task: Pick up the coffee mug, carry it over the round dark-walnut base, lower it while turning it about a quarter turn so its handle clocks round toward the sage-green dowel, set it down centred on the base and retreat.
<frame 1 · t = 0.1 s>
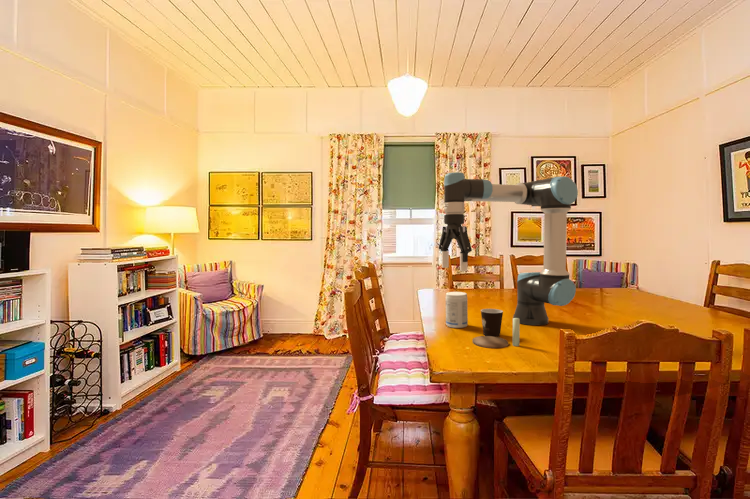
hand: (454, 269, 148), 28 cm above the table, fingers open, 13 cm apart
coffee mug: (491, 334, 159), on the table
walnut base: (490, 342, 147), on the table
supplement tub: (456, 326, 173), on the table
dowel: (515, 345, 143), on the table
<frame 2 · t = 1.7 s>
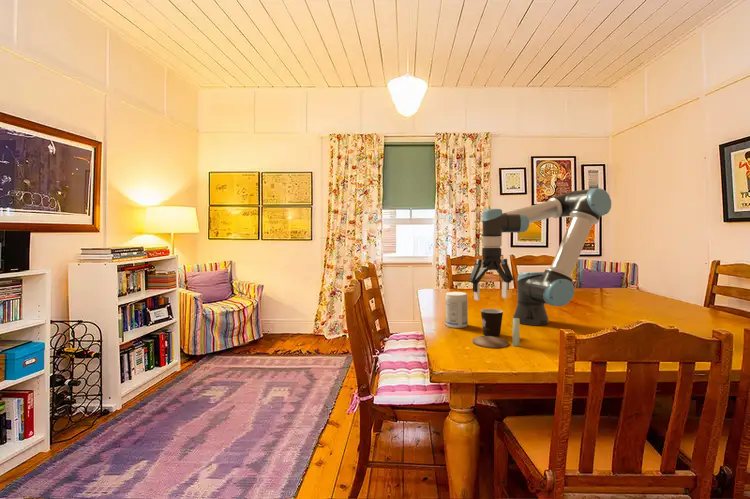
hand: (490, 299, 158), 15 cm above the table, fingers open, 13 cm apart
nothing on the table moved.
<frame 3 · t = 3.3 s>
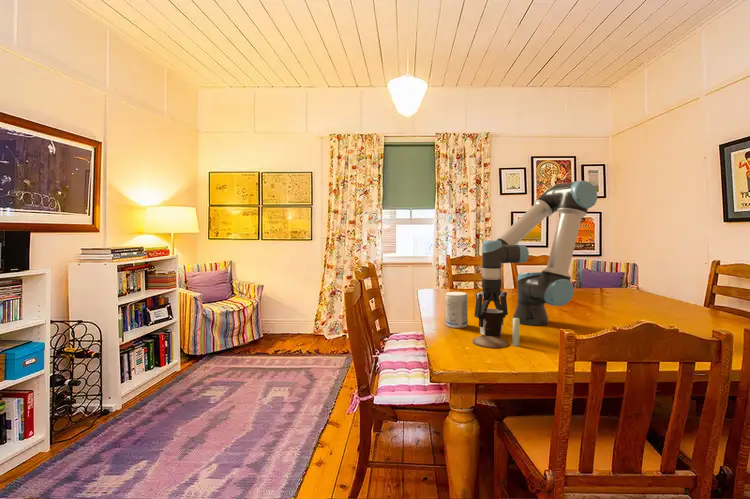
hand: (491, 333, 159), 0 cm above the table, fingers open, 7 cm apart
coffee mug: (491, 334, 159), on the table, touching gripper
everything else where it was.
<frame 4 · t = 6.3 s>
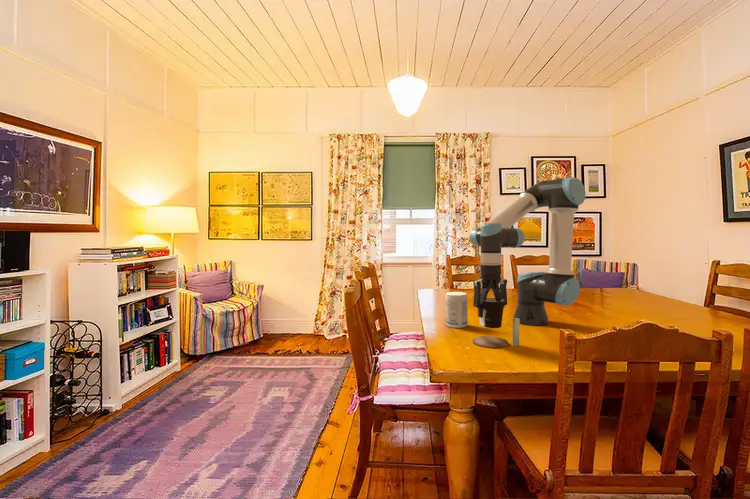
hand: (490, 324, 146), 7 cm above the table, fingers closed on coffee mug, 6 cm apart
coffee mug: (491, 325, 147), point 7 cm above the table, touching gripper
everything else where it was.
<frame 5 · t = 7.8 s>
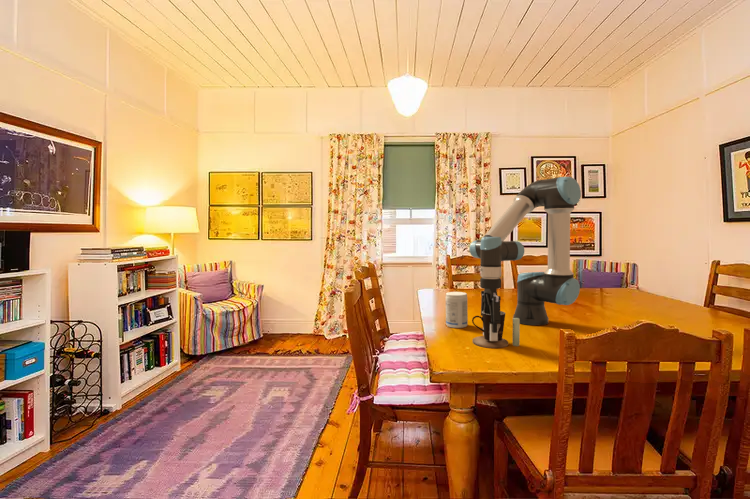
hand: (490, 337, 146), 2 cm above the table, fingers closed on coffee mug, 6 cm apart
coffee mug: (489, 338, 147), point 1 cm above the table, touching gripper
everything else where it was.
when the fingers open (1 cm above the table, at t = 8.4 s): coffee mug stays where it is, resting on walnut base.
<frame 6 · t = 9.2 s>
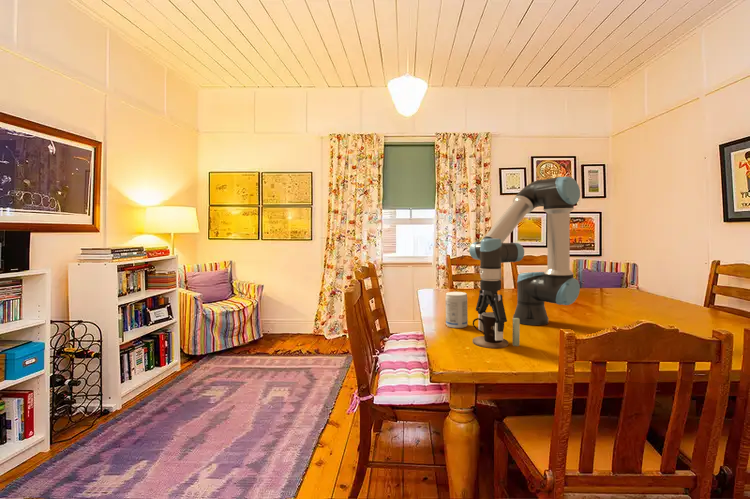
hand: (490, 335, 146), 3 cm above the table, fingers open, 13 cm apart
coffee mug: (489, 340, 147), point 1 cm above the table, touching walnut base
everything else where it was.
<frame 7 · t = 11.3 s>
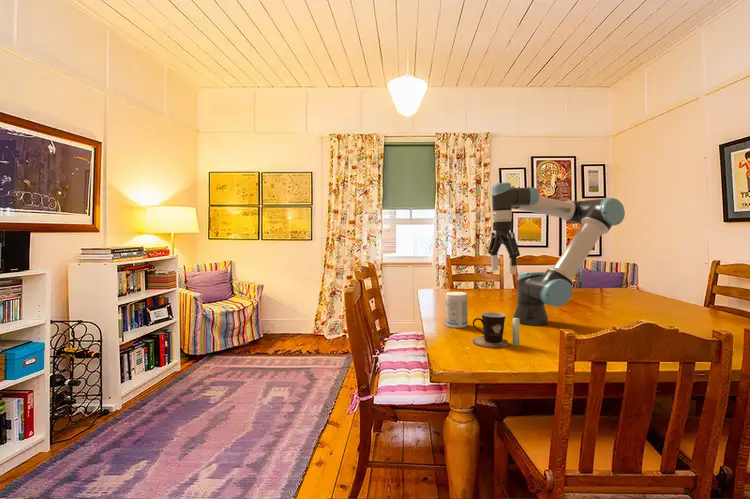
hand: (503, 272, 160), 25 cm above the table, fingers open, 13 cm apart
nothing on the table moved.
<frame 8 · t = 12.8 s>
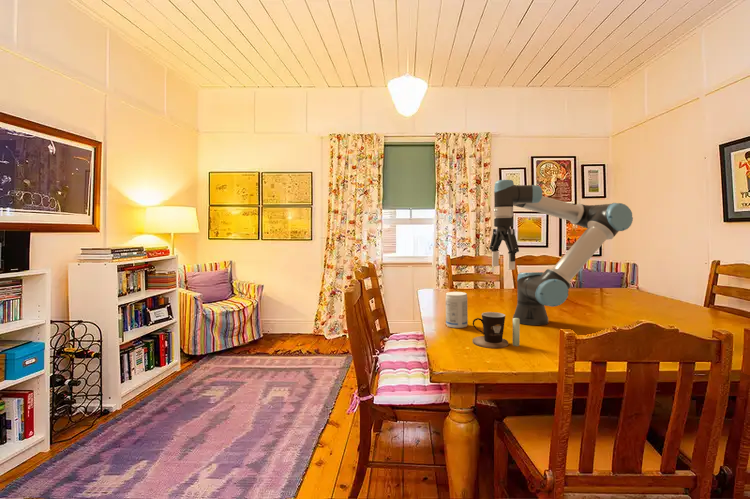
hand: (503, 268, 163), 27 cm above the table, fingers open, 13 cm apart
nothing on the table moved.
at the end: coffee mug 0.8 cm from the walnut base (horizontally); coffee mug tilted 0°; the gripper is holding nothing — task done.
